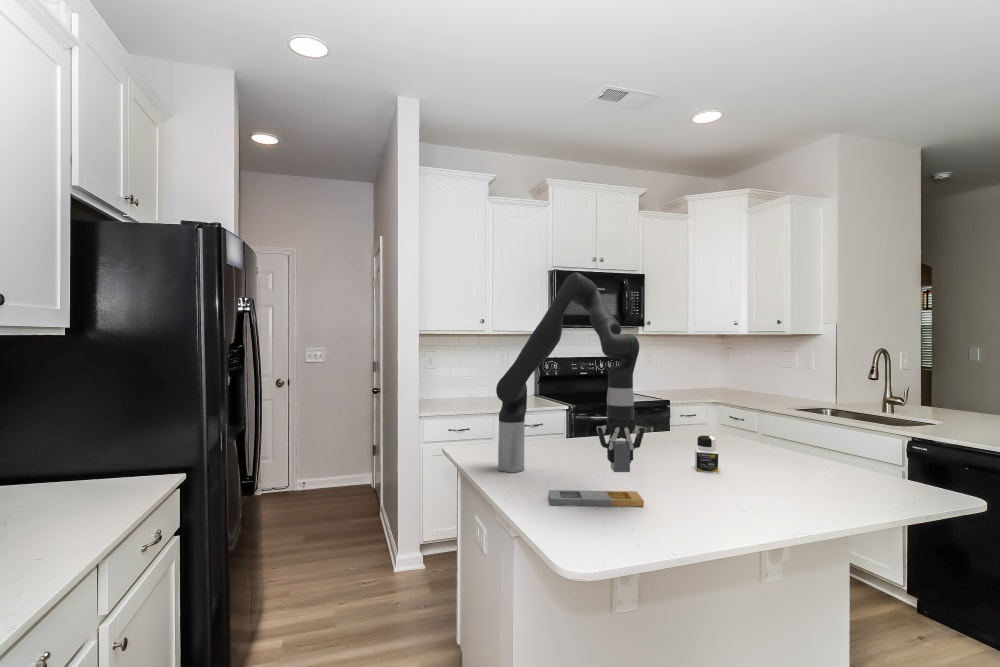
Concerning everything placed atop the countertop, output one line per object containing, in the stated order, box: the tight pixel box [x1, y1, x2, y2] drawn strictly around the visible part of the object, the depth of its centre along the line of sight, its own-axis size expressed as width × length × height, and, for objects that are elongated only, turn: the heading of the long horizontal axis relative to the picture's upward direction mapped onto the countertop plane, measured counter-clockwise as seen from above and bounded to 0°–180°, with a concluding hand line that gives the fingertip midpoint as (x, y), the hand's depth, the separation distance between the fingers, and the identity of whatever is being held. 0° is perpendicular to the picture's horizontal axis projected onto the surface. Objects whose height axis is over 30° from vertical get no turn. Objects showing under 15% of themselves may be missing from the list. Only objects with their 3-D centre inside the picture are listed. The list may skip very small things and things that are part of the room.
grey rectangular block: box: [610, 440, 631, 473], centre depth 145 cm, size 4×4×8 cm
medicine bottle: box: [694, 434, 719, 474], centre depth 180 cm, size 7×7×12 cm
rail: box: [548, 489, 645, 507], centre depth 145 cm, size 26×8×2 cm, turn 89°
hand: (620, 461), depth 145 cm, fingers closed on grey rectangular block, 4 cm apart
